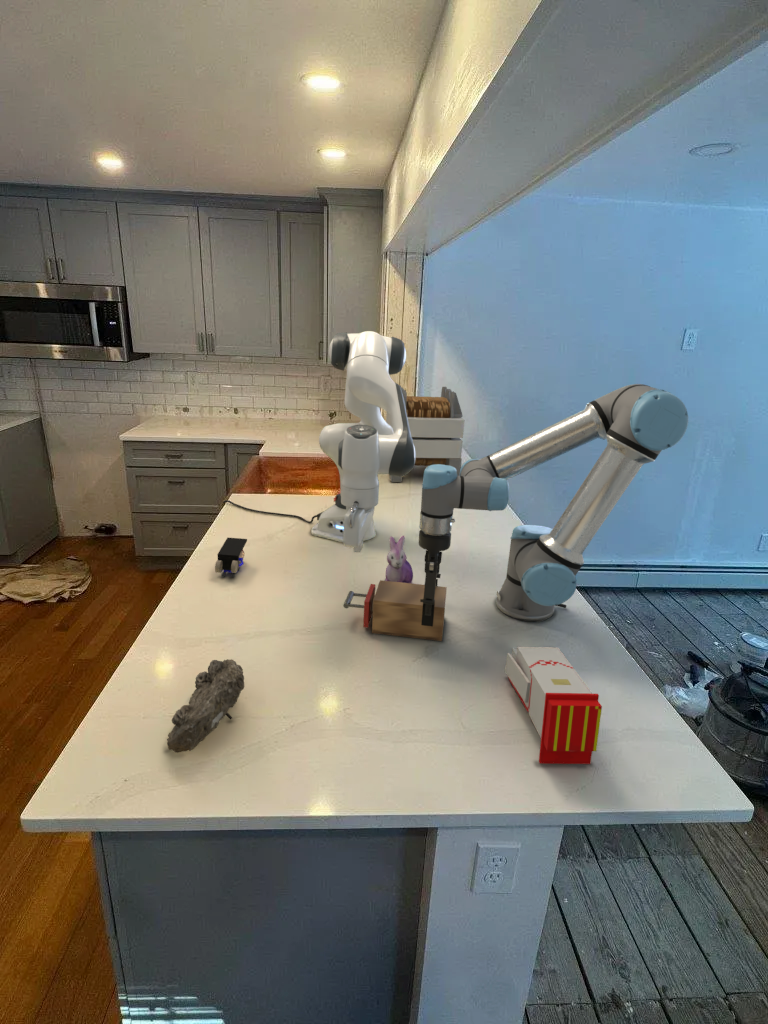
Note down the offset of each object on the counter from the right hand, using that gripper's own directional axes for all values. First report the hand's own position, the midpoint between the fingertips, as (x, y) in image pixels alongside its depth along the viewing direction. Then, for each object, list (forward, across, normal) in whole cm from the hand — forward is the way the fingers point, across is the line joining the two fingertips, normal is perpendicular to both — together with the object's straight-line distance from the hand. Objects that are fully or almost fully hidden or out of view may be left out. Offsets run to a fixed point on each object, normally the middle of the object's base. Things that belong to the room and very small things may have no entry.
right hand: (428, 613), depth 140 cm
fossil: (+4, -41, +38) cm, 56 cm away
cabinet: (+4, 0, +5) cm, 6 cm away
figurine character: (+4, +20, +59) cm, 63 cm away
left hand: (-15, 0, +18) cm, 24 cm away
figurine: (+4, +21, +10) cm, 23 cm away
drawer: (+3, 0, +10) cm, 11 cm away
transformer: (+4, +141, +15) cm, 142 cm away
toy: (+4, -27, -25) cm, 37 cm away
